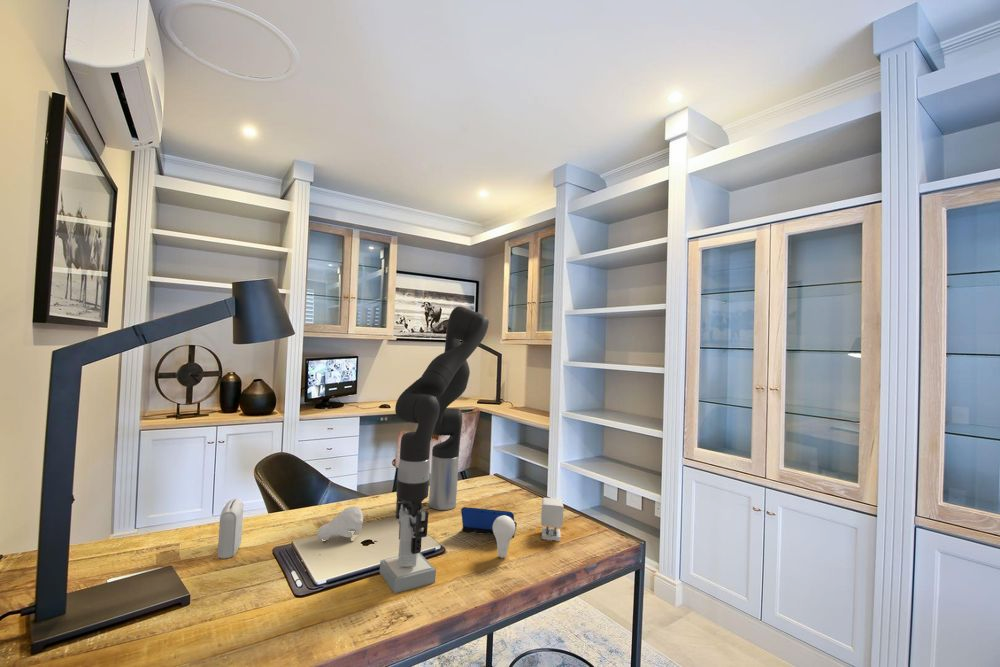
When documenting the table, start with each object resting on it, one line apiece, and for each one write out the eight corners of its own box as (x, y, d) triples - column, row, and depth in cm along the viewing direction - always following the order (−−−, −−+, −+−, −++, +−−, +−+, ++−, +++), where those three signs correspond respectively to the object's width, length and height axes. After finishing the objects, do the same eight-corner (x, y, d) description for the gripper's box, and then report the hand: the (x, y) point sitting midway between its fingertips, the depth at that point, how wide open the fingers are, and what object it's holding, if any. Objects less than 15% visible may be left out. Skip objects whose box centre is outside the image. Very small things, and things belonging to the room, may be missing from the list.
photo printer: (224, 541, 121) (227, 495, 121) (242, 540, 122) (245, 494, 122) (215, 560, 111) (218, 509, 111) (234, 558, 112) (238, 508, 112)
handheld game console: (517, 526, 142) (518, 496, 142) (512, 545, 129) (514, 512, 129) (468, 520, 145) (470, 491, 145) (458, 538, 131) (460, 506, 131)
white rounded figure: (364, 509, 126) (317, 519, 120) (365, 539, 126) (319, 550, 120) (360, 501, 131) (315, 510, 126) (361, 530, 131) (316, 540, 126)
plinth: (379, 572, 110) (380, 559, 110) (418, 563, 115) (419, 550, 115) (394, 593, 101) (395, 578, 101) (435, 582, 107) (435, 568, 107)
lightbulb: (516, 555, 123) (518, 514, 123) (509, 565, 117) (512, 522, 117) (495, 550, 125) (497, 510, 125) (487, 560, 119) (489, 518, 119)
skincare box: (400, 554, 111) (403, 505, 111) (418, 554, 111) (421, 505, 111) (397, 566, 105) (400, 515, 105) (416, 567, 105) (419, 515, 105)
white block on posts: (561, 531, 140) (562, 499, 140) (561, 541, 133) (563, 507, 133) (540, 529, 140) (542, 497, 140) (540, 539, 133) (542, 505, 133)
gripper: (440, 483, 105) (436, 555, 104) (416, 467, 116) (412, 531, 116) (410, 488, 100) (405, 563, 100) (388, 470, 112) (383, 537, 112)
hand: (409, 545), depth 108 cm, fingers closed on skincare box, 7 cm apart
